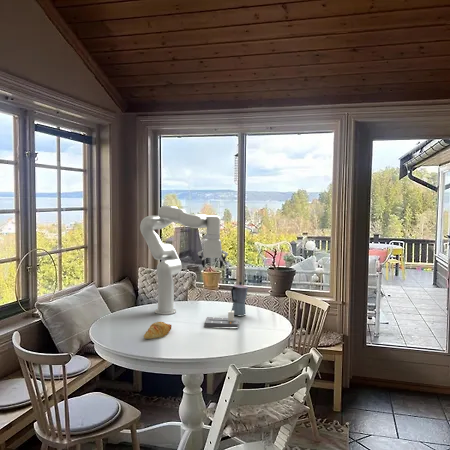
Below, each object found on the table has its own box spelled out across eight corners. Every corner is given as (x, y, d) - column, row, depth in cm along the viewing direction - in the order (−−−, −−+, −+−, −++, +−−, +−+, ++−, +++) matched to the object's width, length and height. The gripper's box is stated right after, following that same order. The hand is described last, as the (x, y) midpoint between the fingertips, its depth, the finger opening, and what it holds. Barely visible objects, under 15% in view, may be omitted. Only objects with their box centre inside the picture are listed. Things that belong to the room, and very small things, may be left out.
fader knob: (228, 322, 255) (228, 310, 254) (233, 322, 255) (234, 310, 254) (227, 324, 251) (228, 312, 250) (233, 324, 251) (233, 312, 250)
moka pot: (251, 313, 279) (252, 281, 278) (238, 319, 266) (239, 285, 265) (238, 311, 285) (238, 279, 283) (224, 316, 272) (225, 283, 270)
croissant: (149, 348, 222) (155, 335, 219) (134, 335, 225) (140, 322, 223) (174, 336, 240) (180, 324, 238) (160, 325, 244) (166, 313, 242)
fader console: (206, 321, 260) (206, 316, 260) (238, 322, 258) (238, 318, 258) (204, 327, 248) (204, 322, 248) (237, 328, 247) (237, 323, 246)
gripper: (197, 237, 257) (196, 267, 258) (227, 238, 256) (227, 269, 257) (198, 236, 264) (198, 266, 265) (228, 237, 263) (227, 267, 264)
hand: (212, 267), depth 261 cm, fingers open, 9 cm apart
